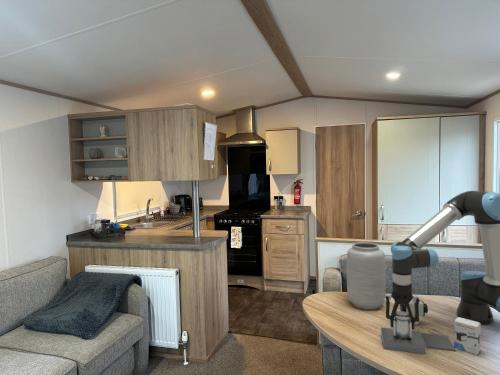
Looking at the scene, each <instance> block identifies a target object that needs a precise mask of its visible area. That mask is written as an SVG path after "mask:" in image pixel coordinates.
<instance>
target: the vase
mask: <svg viewBox="0 0 500 375" xmlns="http://www.w3.org/2000/svg"><path fill="white" fill-rule="evenodd" d="M346 287H347V288H346V289H347V290H346V291H347V292H346V293H347V298H348V300H349V301H350V302H351V303H352V304H353V306H354V307H357V308H358V309H363V310H377V309H378V308H380V307H381V306H382V305H383V304H384V303H385V301H386V298H385V295H386V256H385V253H384V250H382V249H380V246H379V244H377V243H374V242H373V243H372V242H362V241H361V242H355V243H352V246H351V247H350V248H349V249H348V250H347V252H346Z"/></svg>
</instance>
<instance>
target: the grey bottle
mask: <svg viewBox="0 0 500 375" xmlns="http://www.w3.org/2000/svg"><path fill="white" fill-rule="evenodd" d="M394 319H395V321H396V336H395V339H400V340H409V320H410V319H411V316H409V313H407V312H403V311H400V310H397V311H396V314H395V315H394Z"/></svg>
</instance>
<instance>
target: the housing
mask: <svg viewBox="0 0 500 375" xmlns="http://www.w3.org/2000/svg"><path fill="white" fill-rule="evenodd" d="M421 333H422V332H421V331H419V330H412V338H410V337H409V340H400V339H395V336H394V335H393V328H392V327H390V328H389V327H380V336H381V341H382V346H383V349H384V350H389V351H391V350H392V351H399V352H407V353H414V354H422V355H426V353H427V348H426V345H425V342H424V340H423V338H422V335H421Z"/></svg>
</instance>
